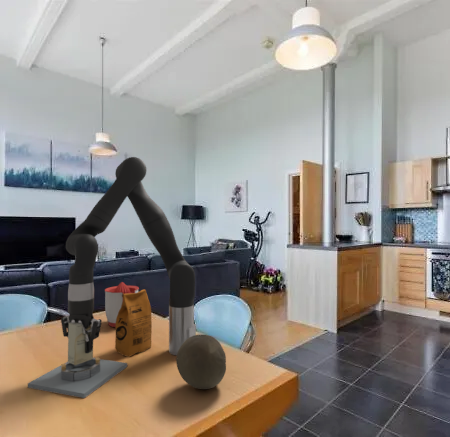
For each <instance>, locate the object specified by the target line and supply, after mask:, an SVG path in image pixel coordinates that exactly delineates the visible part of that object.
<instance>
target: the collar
mask: <svg viewBox="0 0 450 437" xmlns="http://www.w3.org/2000/svg"><path fill="white" fill-rule="evenodd" d="M100 359H101V358H100V357H99V356H97V357H94V356H93V359H91V360H89V361H86V362H83V363H80V364H77V365H74V364H71V363H69V362H68V361H66V362H64V363H65V364H64V363H62V364H61V365H60V366H61V379H62V380H66V381H72V382H75V381H80V380H84V379H89V378H91V377H93V376H94V375H96V374H97V373H99V372H100ZM83 366H90V368H88V369H84V370H79V371H71V370H72V369H74V368H78V367H83Z"/></svg>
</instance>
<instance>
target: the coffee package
mask: <svg viewBox="0 0 450 437" xmlns="http://www.w3.org/2000/svg"><path fill="white" fill-rule="evenodd" d="M122 297H123V300H124V301H123V302H122V305H121V309H120V310H119V312H118V315H117V318H116V327H115V341H114V344H115V345H114V349H115V351H116V352H117V353H119V354H120V355H123V356H126V357H131V356H133V355H135V354H137V353H144V352H145V351H147V350H148V349H150V348H151V347H152V327H153V326H152V325H153V324H152V322H153V321H152V306H151V303H150V300H149V296H148V294H147V290H146V289H141V290H140V291H138V293H127V294H122Z"/></svg>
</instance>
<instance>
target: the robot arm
mask: <svg viewBox="0 0 450 437" xmlns="http://www.w3.org/2000/svg"><path fill="white" fill-rule="evenodd" d="M146 175H147V165H146V163H145V162H144V160H143V159H141V158H140V157H135V156H130V157H128V158H126V159H124V160H123V161H122V162H120V164H118V166H117V167H116V169H115V178H116V179H114V181H113V183H112V184H111V186H110V187H109V188H108V190H107V191H106V192H105V194H104V195H102V196H101V197H100V199H99V200H98V202H97V203H96V204H95V205H94V207H93V208H92V210H91V211H90V212H89V214H88V215H87V217H86V218H85V220H84V221H82V222H81V223H80V224H79V225H78V226H77V227H76V228H75V229H74V230H73V231H71V232H72V233H70V234H69V235H68V237H67V239H66V241H65V249H66V252H68V253H69V254H70V255H71V256H75V260H74V264H71V265H70V267H69V271H68V287H67V288H68V290H67V313H68V315H66V316H63V317H61V318H60V323H61V330H62V334H63V337H67V338H68V332H69V323H79V324H81V326H82V334H83V335H84V337H85V340H86V341H85V353H90V352H91V351H92V350H93V351H94V340H96V339H98V338H100V332H101V328H102V322H103V321H102V318H99V319H97V318H95V317H94V313H93V312H94V311H95V286H94V269H95V264H96V260H97V257H98V253H99V244H98V240H97V239H96V236H98V235H100V234H102V233H104V232H105V231H106V229H107V228H108V227H109V225H110V224H111V222H112V220H114V217H115V216H116V214H117V212H118V211H119V209H120V208H121V206H122V205H123V203H124V202H125V200H126V199H127V198H128V201H129V202H130V203H131V205H132V207H133V209H134V212H135V213H136V216H137V218H138V219H139V222H140V223H141V226H142V228H143V230H144V232H145V234H146V235H147V237H148V239H149V241H150V242H151V243H152V245H153V247H154V248H155V250H156V251H157V253H158V254H159V256H160V258H161V259H162V262H163V264H164V267H165V270H166V272H167V276H168V278H169V299H168V352H169V354H170V355H172V356H177V353H178V350H179V348H180V347H181V345H182V344H183V343H184V342H185V340H187V339H188V338H189V337H191V336H194V335H197V333H196V332H197V331H196V330H197V327H196V326H197V325H196V323H195V321H194V320H195V319H194V318H195V317H194V316H195V312H194V311H195V310H194V309H195V308H194V307H195V306H194V305H195V303H194V302H195V296H196V294H195V293H196V273H195V269H194V268H193V267H192V266H191V265H190V264H189V263H188V261H186V259H185V258H184V255H183V254H182V252H181V251H180V249H179V247H178V245H177V241H176V237H175V234H174V231H173V229H172V226H171V224H170V222H169V220H168V217H167V216H166V214H165V212H164V210H163V209H162V208H161V207H160V205H158V204H157V202H155V201H154V200H153V199H152V198H151V197H150V196H149V194H148V193H147V191H146V189H145V187H144V185H143V180H144V179H145V177H146ZM91 323H92V326H91V328H90V330H87V331H86V329H87V328H89V327H90V325H91ZM88 333H89V335H88Z"/></svg>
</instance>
